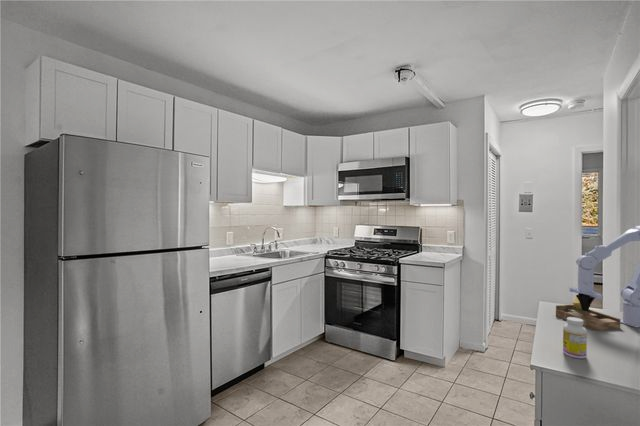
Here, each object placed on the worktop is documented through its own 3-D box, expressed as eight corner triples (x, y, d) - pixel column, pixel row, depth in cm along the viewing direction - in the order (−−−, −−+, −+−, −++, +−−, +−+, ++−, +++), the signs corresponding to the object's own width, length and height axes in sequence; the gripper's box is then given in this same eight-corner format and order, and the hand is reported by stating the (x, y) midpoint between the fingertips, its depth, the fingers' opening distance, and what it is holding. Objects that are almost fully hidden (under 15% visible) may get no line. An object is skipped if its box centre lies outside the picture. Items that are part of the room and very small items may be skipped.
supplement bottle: (563, 349, 122) (564, 314, 122) (586, 354, 118) (587, 318, 118) (562, 355, 117) (562, 319, 117) (586, 361, 113) (586, 323, 113)
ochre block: (578, 309, 159) (582, 303, 161) (586, 309, 156) (590, 303, 157) (572, 303, 160) (576, 297, 161) (579, 303, 156) (583, 297, 157)
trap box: (578, 314, 162) (578, 303, 161) (620, 328, 143) (620, 316, 143) (555, 315, 159) (555, 305, 159) (595, 330, 141) (595, 318, 140)
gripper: (564, 278, 161) (563, 306, 161) (593, 285, 147) (593, 316, 147) (576, 278, 162) (576, 305, 162) (607, 285, 148) (606, 315, 148)
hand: (585, 310), depth 155 cm, fingers closed
